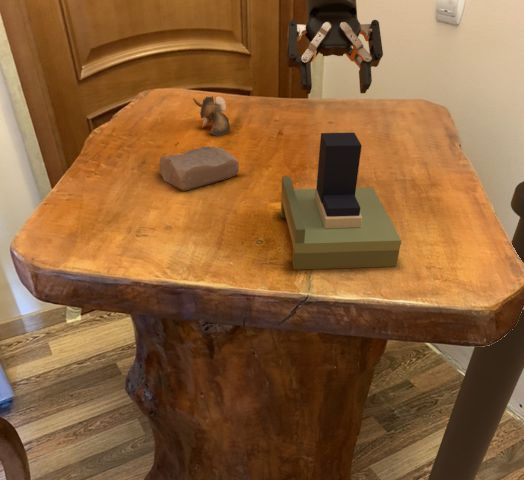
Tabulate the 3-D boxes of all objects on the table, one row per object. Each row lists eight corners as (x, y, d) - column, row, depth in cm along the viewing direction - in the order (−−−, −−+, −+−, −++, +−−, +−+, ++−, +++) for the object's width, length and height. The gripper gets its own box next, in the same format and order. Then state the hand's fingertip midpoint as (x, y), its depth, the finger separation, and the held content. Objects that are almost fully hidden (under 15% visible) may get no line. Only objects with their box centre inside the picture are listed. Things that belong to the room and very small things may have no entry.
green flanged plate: (369, 211, 87) (375, 174, 83) (396, 266, 75) (404, 226, 71) (280, 213, 86) (282, 176, 82) (293, 269, 74) (296, 229, 70)
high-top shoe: (314, 198, 81) (319, 132, 75) (347, 197, 81) (355, 132, 75) (324, 228, 74) (331, 159, 68) (361, 227, 75) (371, 158, 68)
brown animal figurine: (184, 117, 115) (192, 123, 107) (199, 84, 113) (209, 87, 105) (215, 135, 118) (226, 142, 111) (231, 103, 116) (242, 108, 109)
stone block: (155, 183, 97) (183, 193, 90) (151, 155, 95) (178, 162, 88) (213, 170, 103) (243, 178, 96) (210, 143, 100) (240, 149, 93)
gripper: (286, -31, 80) (292, 77, 79) (382, -30, 81) (390, 76, 80) (281, 5, 88) (286, 104, 87) (369, 5, 89) (376, 103, 88)
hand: (336, 91), depth 83 cm, fingers open, 8 cm apart
